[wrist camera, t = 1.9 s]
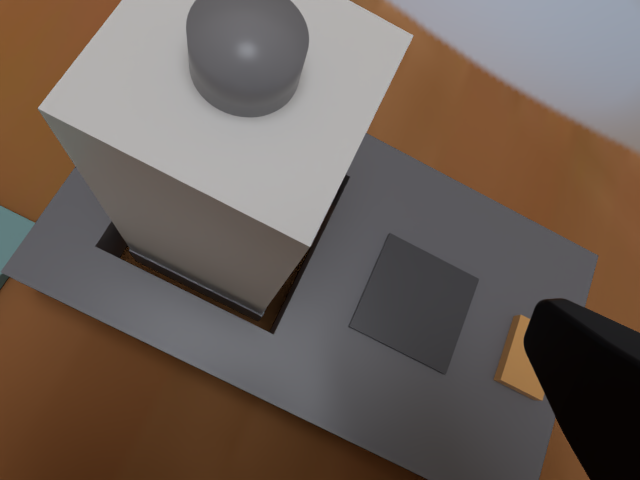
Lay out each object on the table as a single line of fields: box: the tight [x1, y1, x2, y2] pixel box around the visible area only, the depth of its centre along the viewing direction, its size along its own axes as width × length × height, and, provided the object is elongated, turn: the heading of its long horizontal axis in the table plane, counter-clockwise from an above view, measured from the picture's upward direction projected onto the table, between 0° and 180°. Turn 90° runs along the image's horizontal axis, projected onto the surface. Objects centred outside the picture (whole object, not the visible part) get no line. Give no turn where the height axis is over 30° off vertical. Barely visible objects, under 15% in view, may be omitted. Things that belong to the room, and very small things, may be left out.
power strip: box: [1, 133, 598, 480], centre depth 18 cm, size 10×18×4 cm, turn 65°
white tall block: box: [38, 0, 413, 321], centre depth 14 cm, size 5×5×12 cm
